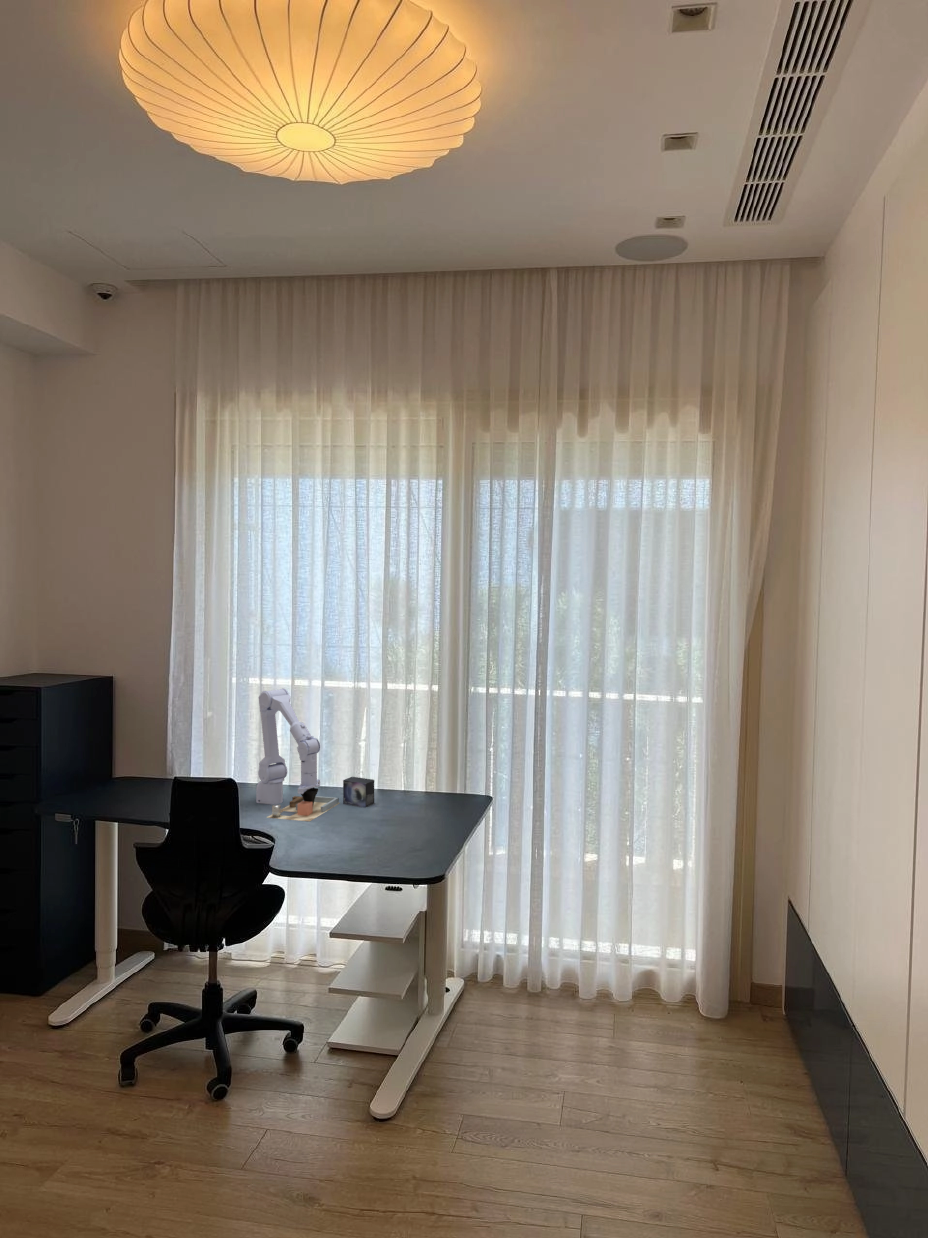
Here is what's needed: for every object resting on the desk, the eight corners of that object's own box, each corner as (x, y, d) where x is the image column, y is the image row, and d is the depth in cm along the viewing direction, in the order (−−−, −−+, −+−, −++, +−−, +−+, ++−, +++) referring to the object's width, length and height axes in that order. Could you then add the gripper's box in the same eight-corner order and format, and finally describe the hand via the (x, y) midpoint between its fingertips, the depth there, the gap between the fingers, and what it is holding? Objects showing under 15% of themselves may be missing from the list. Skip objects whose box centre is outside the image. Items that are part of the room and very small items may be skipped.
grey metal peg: (270, 817, 320) (270, 806, 320) (274, 815, 323) (274, 804, 323) (278, 818, 319) (278, 807, 319) (282, 815, 322) (282, 804, 322)
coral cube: (297, 814, 324) (297, 803, 323) (302, 811, 327) (302, 801, 327) (307, 815, 322) (307, 804, 322) (312, 812, 326) (312, 801, 326)
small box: (342, 807, 339) (341, 779, 338) (352, 803, 344) (351, 776, 344) (365, 810, 334) (365, 782, 333) (375, 806, 340) (375, 779, 339)
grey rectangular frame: (295, 810, 330) (295, 804, 330) (312, 801, 343) (312, 795, 343) (323, 812, 327) (323, 807, 327) (338, 803, 340) (338, 798, 340)
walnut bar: (284, 806, 334) (284, 801, 334) (294, 801, 342) (294, 796, 342) (294, 807, 333) (294, 802, 333) (304, 802, 341) (304, 797, 341)
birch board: (266, 820, 320) (266, 817, 320) (299, 802, 345) (299, 799, 345) (309, 824, 315) (309, 821, 315) (340, 806, 340) (340, 803, 340)
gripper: (310, 777, 319) (310, 814, 320) (327, 768, 333) (327, 804, 334) (292, 775, 321) (292, 813, 322) (310, 767, 335) (310, 803, 336)
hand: (309, 808), depth 328 cm, fingers closed
